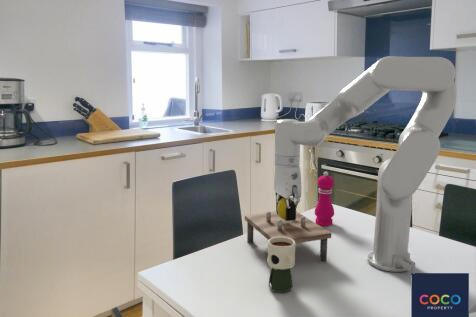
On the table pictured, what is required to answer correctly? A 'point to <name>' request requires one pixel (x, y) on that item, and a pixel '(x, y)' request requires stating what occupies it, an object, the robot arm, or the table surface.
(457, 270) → the table surface
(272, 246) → the character mug
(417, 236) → the table surface
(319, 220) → the pepper mill
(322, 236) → the peg shelf
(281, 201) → the lemon
